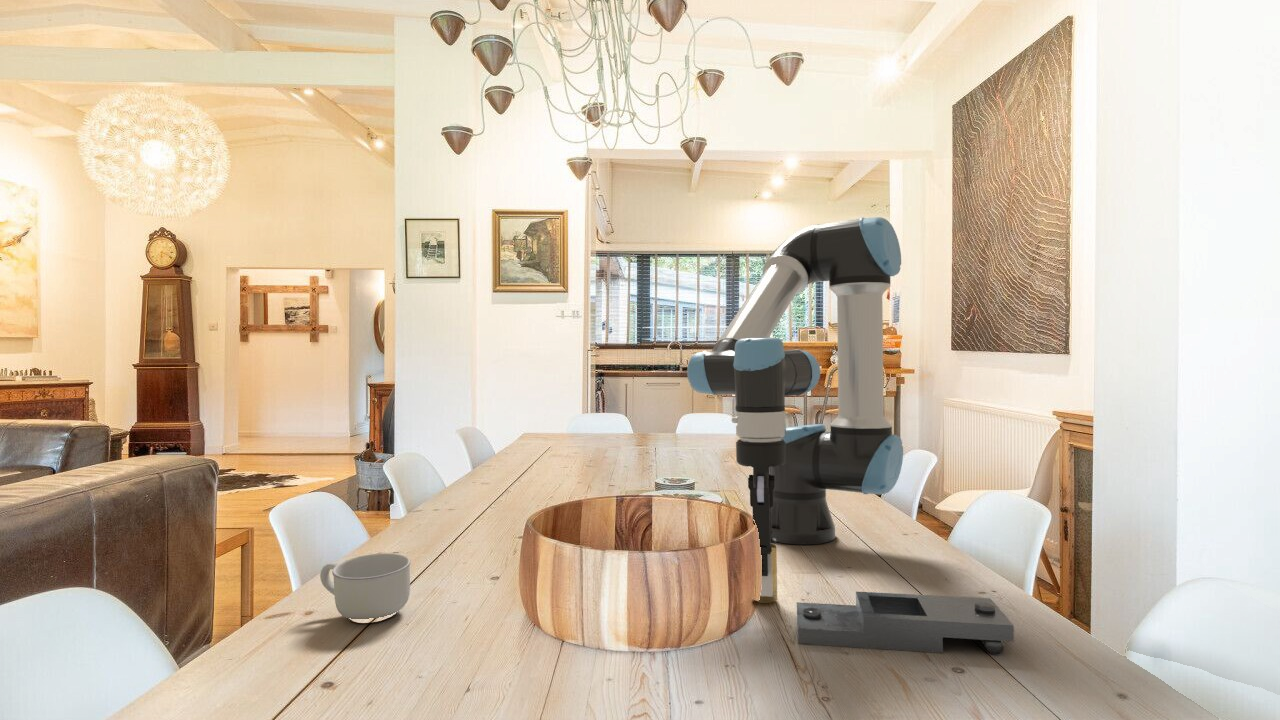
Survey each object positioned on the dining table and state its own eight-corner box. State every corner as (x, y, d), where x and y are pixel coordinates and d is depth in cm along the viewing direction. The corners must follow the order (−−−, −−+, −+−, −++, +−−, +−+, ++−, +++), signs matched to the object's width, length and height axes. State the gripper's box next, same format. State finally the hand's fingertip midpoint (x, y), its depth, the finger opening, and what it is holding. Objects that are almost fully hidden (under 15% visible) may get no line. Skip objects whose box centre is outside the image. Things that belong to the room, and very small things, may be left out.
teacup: (426, 609, 106) (425, 557, 107) (371, 635, 97) (370, 577, 97) (358, 598, 112) (358, 548, 112) (300, 621, 103) (299, 566, 103)
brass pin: (751, 593, 110) (750, 542, 110) (777, 594, 109) (776, 543, 109) (750, 602, 106) (749, 549, 106) (777, 603, 105) (776, 550, 105)
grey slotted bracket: (796, 616, 102) (796, 584, 102) (990, 627, 96) (990, 593, 96) (798, 643, 92) (797, 608, 92) (1014, 657, 87) (1013, 620, 87)
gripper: (739, 432, 116) (742, 573, 117) (732, 445, 100) (735, 609, 101) (785, 432, 115) (788, 575, 115) (785, 445, 99) (789, 611, 99)
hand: (763, 590), depth 108 cm, fingers closed on brass pin, 3 cm apart
